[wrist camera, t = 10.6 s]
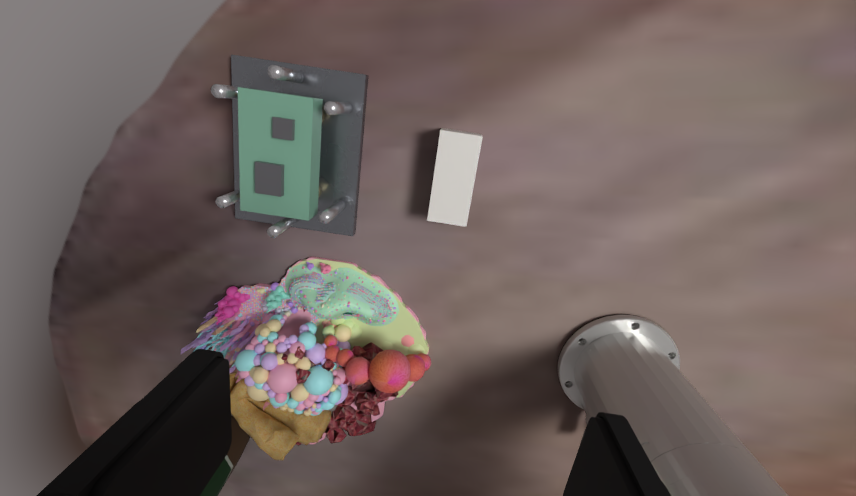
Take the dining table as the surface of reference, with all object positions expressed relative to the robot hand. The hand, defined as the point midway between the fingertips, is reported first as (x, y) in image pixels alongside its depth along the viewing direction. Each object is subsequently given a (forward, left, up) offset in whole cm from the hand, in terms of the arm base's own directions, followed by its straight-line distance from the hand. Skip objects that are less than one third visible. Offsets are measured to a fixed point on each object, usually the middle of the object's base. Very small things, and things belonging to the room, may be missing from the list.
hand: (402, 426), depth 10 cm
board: (+2, +14, -27) cm, 30 cm away
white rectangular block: (+2, -1, -30) cm, 30 cm away
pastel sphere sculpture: (-20, +12, -31) cm, 39 cm away
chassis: (+2, +14, -30) cm, 33 cm away
